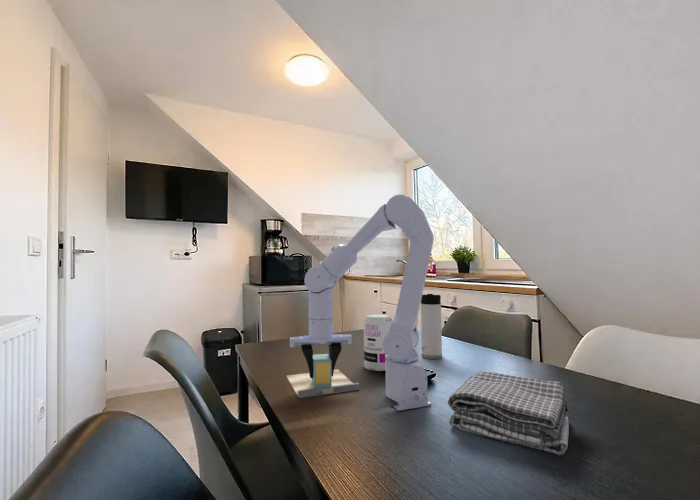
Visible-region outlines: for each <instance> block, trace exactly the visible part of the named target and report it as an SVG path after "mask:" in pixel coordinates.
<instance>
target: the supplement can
mask: <svg viewBox="0 0 700 500" xmlns="http://www.w3.org/2000/svg"><path fill="white" fill-rule="evenodd" d="M392 322H393V319H392V316H391V314H387V313H369V314H366V315H365V318H364V320H363V367H364V368H365V369H367V370H369V371H374V372H375V371H377V372H383V371H384V372H386V371H385V355H386V353H385V351H384V349H383V341H384V338H385V336H386V335H387V334H388V333H389V331H390V329H391V325H392Z"/></svg>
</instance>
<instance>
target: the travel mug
mask: <svg viewBox="0 0 700 500" xmlns="http://www.w3.org/2000/svg"><path fill="white" fill-rule="evenodd" d="M441 298H442V297H441V294H434V293H427V294H422V298H421V303H420V328H421V329H420V330H421V331H420V332H421V333H420V334H421V335H420V336H421V339H420V340H421V356H422V358H424V359H428V360H439V359H441V358H442V357H443V352H442V351H443V345H442V344H443V341H442V339H443V338H442V336H443V335H442V334H443V332H442V305H441V304H442V303H441Z"/></svg>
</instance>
